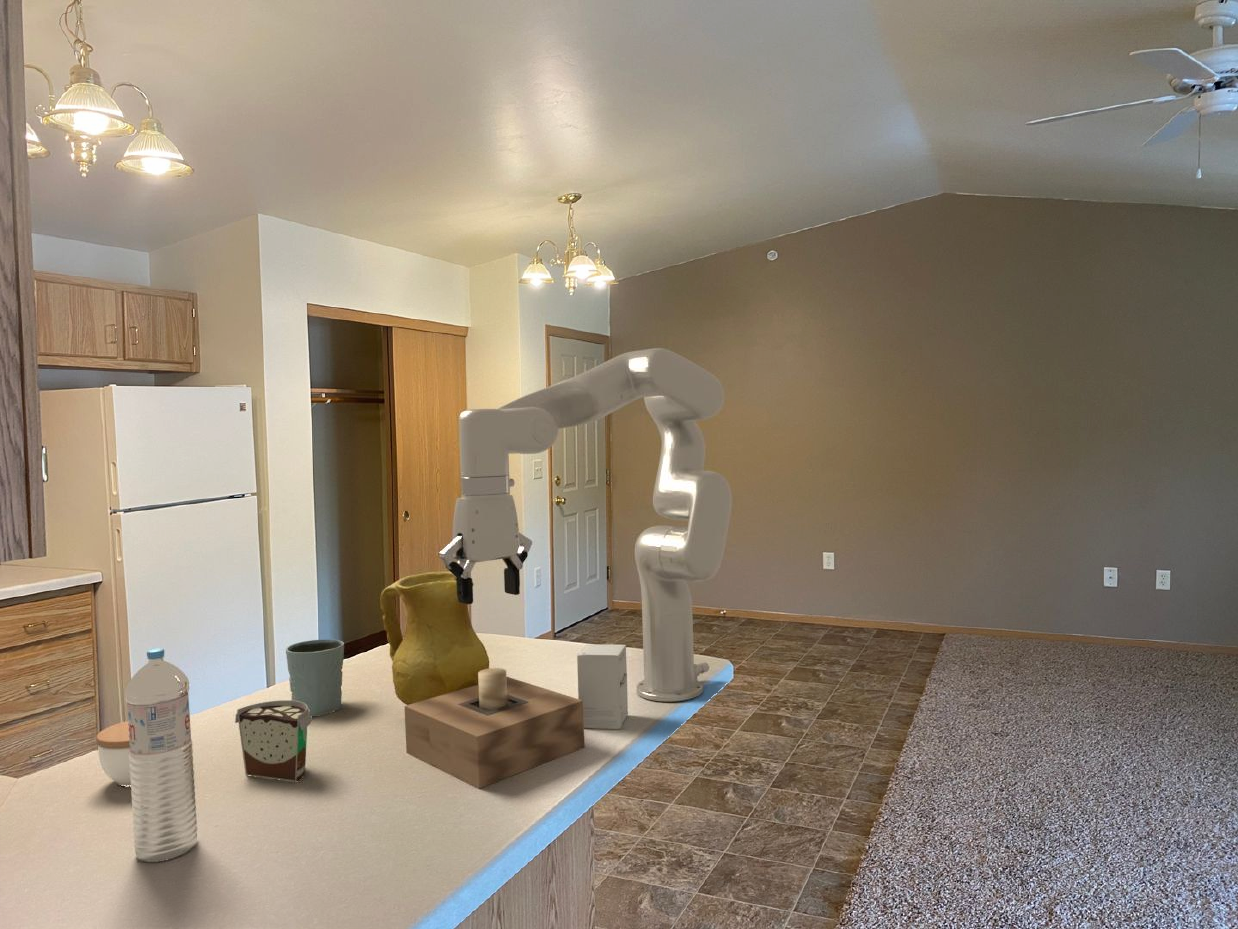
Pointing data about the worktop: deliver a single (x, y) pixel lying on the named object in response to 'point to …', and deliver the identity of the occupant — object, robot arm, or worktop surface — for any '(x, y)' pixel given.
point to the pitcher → (431, 638)
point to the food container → (274, 739)
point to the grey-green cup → (316, 674)
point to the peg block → (494, 732)
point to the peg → (492, 688)
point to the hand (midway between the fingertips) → (489, 597)
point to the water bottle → (161, 760)
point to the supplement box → (603, 685)
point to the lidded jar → (115, 752)
